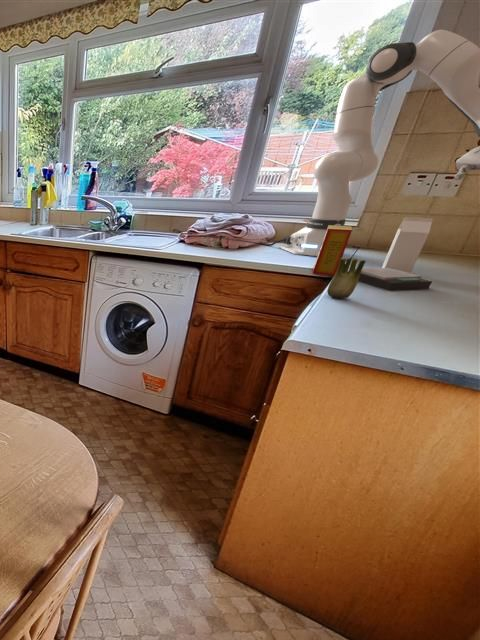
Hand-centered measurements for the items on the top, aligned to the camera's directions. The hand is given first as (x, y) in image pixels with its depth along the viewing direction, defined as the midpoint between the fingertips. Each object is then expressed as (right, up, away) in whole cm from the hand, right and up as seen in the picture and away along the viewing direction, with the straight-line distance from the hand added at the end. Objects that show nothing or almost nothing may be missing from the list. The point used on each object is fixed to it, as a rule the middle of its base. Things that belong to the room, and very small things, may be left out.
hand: (471, 179), depth 139 cm
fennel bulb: (-50, -40, -7) cm, 64 cm away
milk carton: (-11, -28, +14) cm, 33 cm away
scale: (-23, -33, +5) cm, 40 cm away
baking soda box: (-31, -25, +20) cm, 45 cm away
